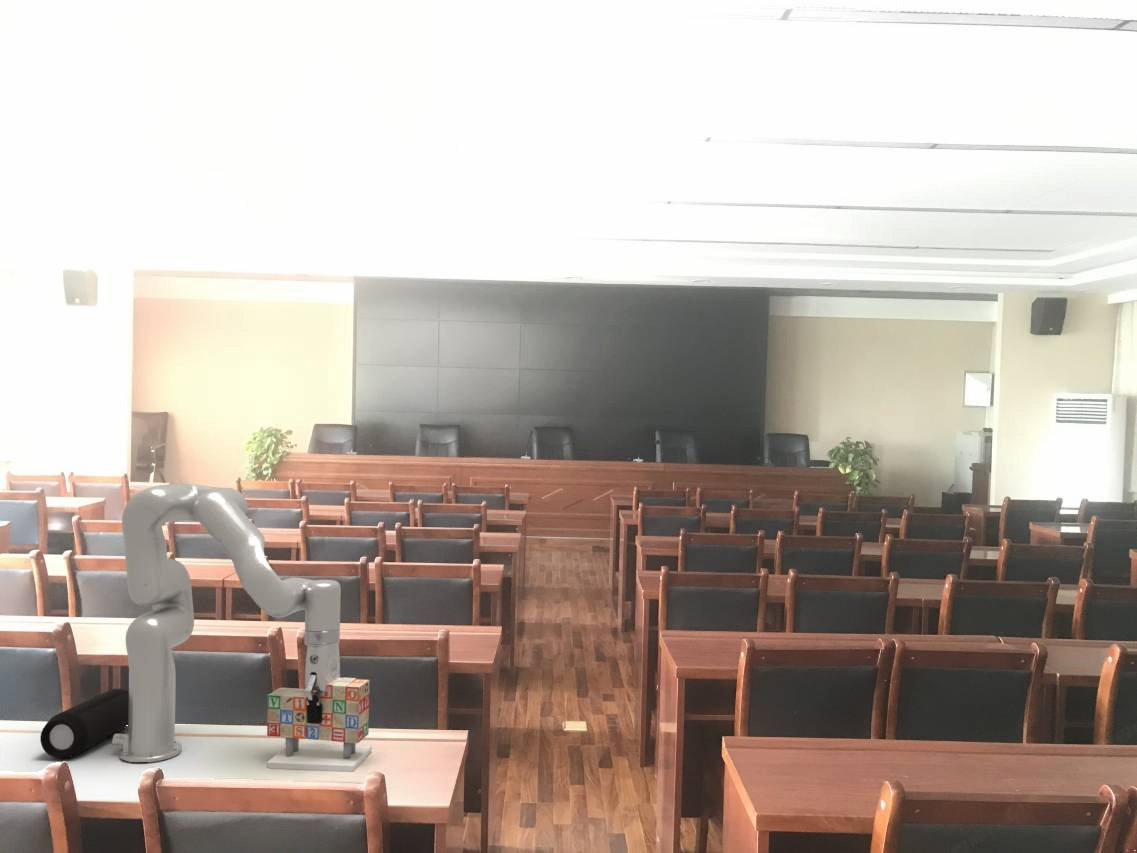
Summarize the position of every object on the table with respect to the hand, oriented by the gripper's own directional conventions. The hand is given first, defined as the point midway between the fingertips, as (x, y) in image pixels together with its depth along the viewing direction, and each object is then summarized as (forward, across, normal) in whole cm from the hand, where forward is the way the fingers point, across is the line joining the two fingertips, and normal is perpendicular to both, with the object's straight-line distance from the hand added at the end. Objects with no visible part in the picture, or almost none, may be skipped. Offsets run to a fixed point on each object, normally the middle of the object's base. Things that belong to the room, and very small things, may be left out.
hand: (320, 717), depth 203 cm
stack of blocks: (+4, 0, 0) cm, 4 cm away
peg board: (+9, 0, 0) cm, 9 cm away
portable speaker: (+10, +5, +56) cm, 57 cm away
